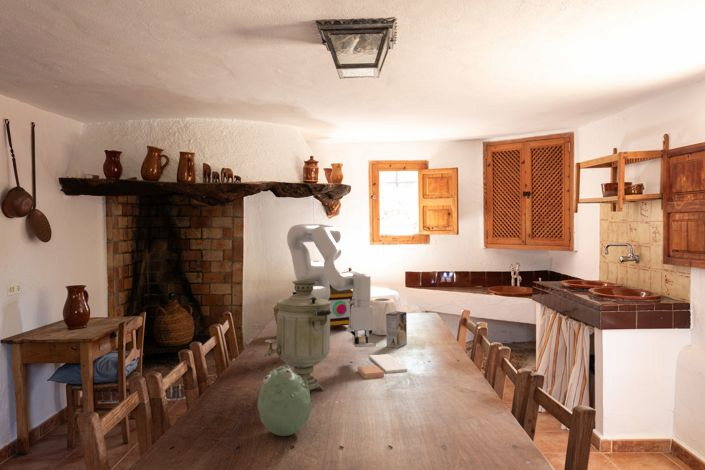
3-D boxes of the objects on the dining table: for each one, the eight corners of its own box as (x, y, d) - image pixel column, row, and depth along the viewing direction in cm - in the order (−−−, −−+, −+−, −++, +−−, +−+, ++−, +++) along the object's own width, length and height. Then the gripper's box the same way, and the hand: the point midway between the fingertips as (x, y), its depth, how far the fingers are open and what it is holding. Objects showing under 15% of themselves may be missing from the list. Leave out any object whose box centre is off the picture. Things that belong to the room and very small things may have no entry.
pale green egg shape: (316, 421, 162) (316, 358, 161) (305, 449, 143) (305, 376, 142) (266, 420, 163) (266, 357, 162) (249, 447, 144) (249, 375, 143)
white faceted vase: (372, 340, 267) (372, 303, 267) (365, 329, 294) (364, 295, 293) (402, 339, 269) (401, 303, 268) (392, 328, 296) (392, 295, 295)
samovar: (253, 382, 200) (252, 278, 199) (318, 374, 209) (317, 275, 208) (268, 409, 172) (267, 288, 171) (343, 399, 182) (343, 284, 180)
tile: (357, 372, 214) (364, 379, 205) (357, 366, 214) (364, 373, 205) (376, 370, 216) (384, 377, 207) (376, 365, 216) (384, 372, 207)
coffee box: (396, 342, 263) (396, 310, 262) (407, 344, 259) (407, 312, 258) (386, 346, 255) (386, 313, 255) (397, 348, 251) (397, 315, 251)
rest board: (386, 373, 211) (386, 370, 211) (369, 357, 235) (369, 355, 235) (407, 371, 214) (407, 368, 214) (388, 356, 237) (388, 354, 237)
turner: (348, 345, 229) (348, 335, 230) (364, 344, 231) (363, 335, 232) (359, 347, 212) (359, 337, 213) (375, 346, 214) (375, 336, 214)
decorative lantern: (312, 326, 303) (312, 274, 302) (343, 322, 311) (343, 272, 310) (325, 332, 285) (325, 278, 284) (358, 329, 293) (358, 276, 292)
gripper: (345, 305, 216) (344, 349, 217) (382, 303, 220) (382, 346, 221) (340, 302, 223) (340, 344, 224) (377, 300, 227) (376, 342, 228)
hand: (361, 345), depth 223 cm, fingers closed on turner, 3 cm apart
